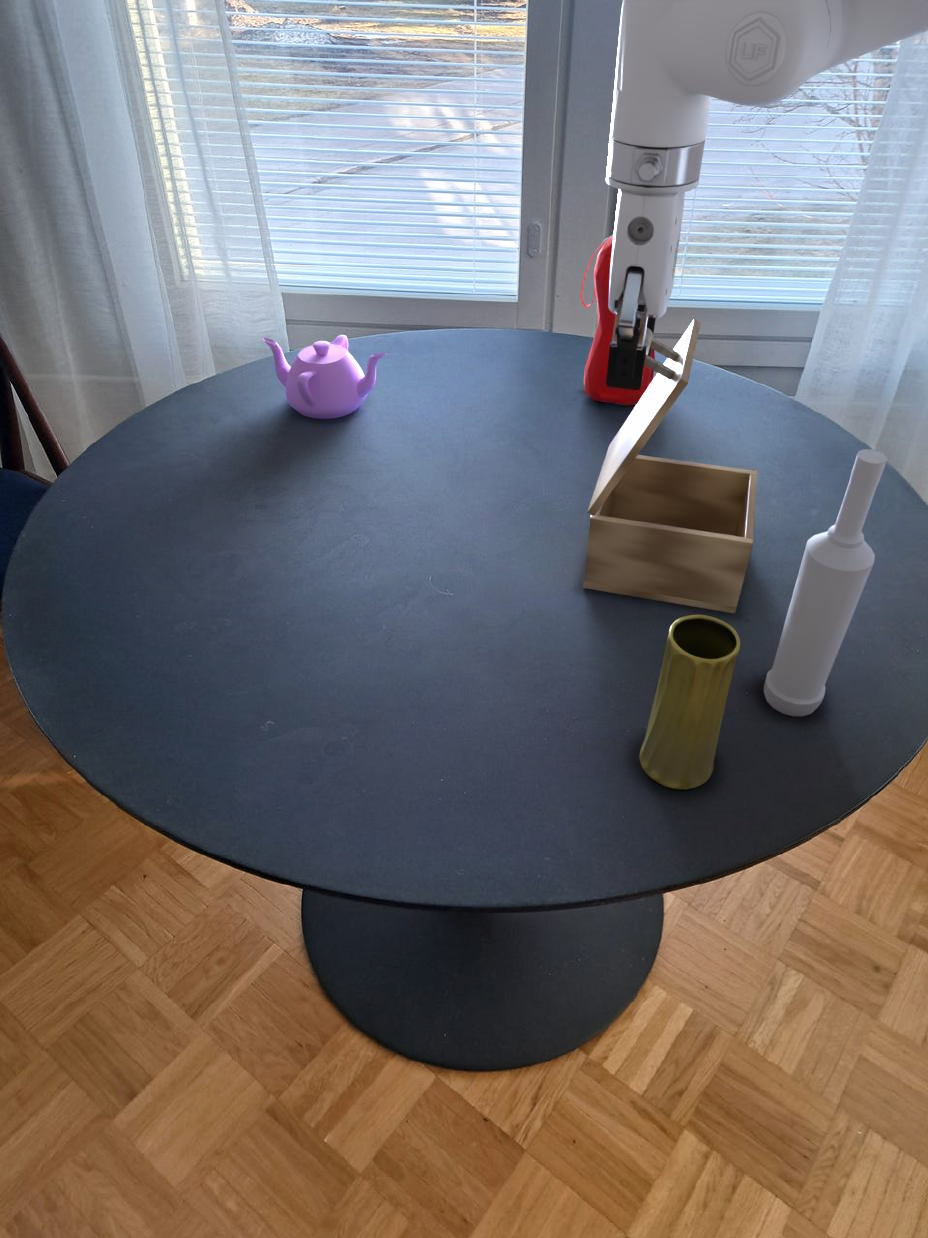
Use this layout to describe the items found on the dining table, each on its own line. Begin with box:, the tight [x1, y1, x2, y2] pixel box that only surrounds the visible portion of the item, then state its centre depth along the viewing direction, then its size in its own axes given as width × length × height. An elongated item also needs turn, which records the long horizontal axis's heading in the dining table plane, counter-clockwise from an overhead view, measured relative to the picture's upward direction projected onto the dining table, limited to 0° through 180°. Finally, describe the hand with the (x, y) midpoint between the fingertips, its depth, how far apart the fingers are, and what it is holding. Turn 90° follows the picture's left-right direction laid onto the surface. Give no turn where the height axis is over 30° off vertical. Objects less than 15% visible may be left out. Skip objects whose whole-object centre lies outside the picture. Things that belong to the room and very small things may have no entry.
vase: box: [639, 614, 741, 791], centre depth 69 cm, size 6×6×14 cm
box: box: [582, 454, 759, 615], centre depth 92 cm, size 16×14×9 cm
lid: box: [587, 318, 702, 516], centre depth 85 cm, size 16×14×5 cm
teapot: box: [262, 334, 387, 420], centre depth 121 cm, size 12×14×9 cm
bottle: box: [763, 448, 888, 717], centre depth 71 cm, size 5×5×25 cm
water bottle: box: [580, 232, 656, 407], centre depth 118 cm, size 9×11×25 cm
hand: (628, 369), depth 82 cm, fingers open, 6 cm apart
